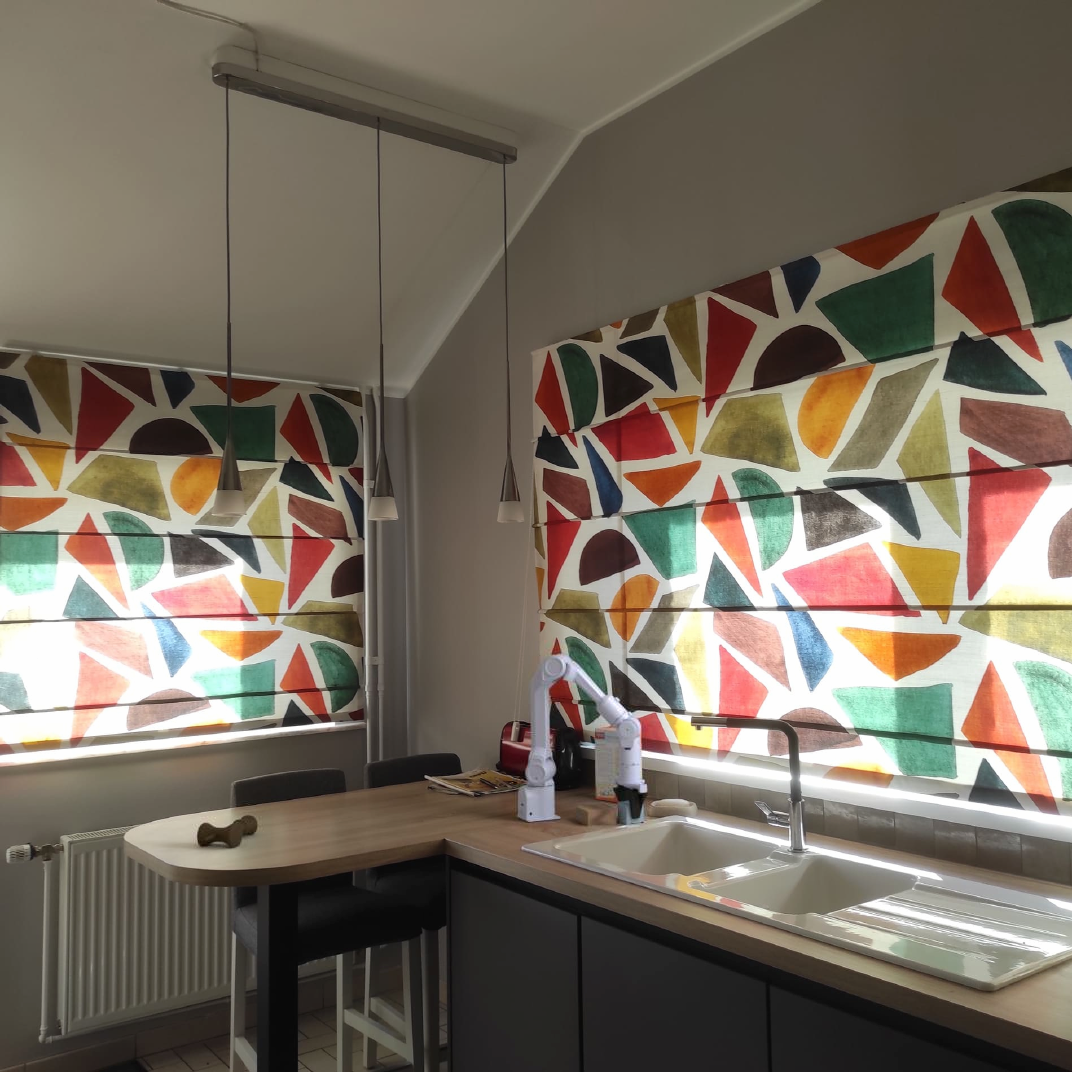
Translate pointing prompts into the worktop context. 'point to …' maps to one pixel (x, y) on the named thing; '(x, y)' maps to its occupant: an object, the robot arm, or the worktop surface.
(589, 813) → the walnut block
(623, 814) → the slate cube
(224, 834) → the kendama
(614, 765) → the cracker box
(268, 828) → the worktop surface
